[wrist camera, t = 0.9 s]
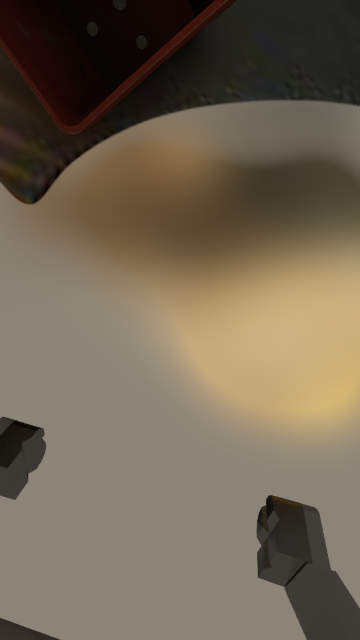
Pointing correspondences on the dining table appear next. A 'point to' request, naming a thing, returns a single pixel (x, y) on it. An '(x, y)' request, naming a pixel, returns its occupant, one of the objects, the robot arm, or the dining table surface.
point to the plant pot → (95, 49)
